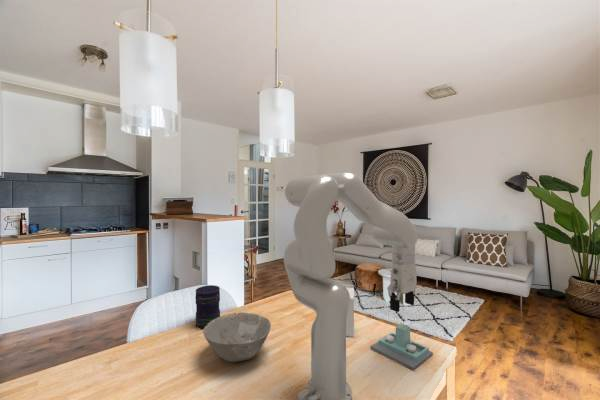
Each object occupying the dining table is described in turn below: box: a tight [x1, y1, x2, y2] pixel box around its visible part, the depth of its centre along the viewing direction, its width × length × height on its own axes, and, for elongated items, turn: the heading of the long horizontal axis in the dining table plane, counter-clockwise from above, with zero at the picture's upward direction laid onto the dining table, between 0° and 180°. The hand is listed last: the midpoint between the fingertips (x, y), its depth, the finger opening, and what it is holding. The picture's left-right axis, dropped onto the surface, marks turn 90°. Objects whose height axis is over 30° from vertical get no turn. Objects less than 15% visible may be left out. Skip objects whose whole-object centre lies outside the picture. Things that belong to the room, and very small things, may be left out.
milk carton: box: [342, 283, 355, 338], centre depth 110 cm, size 7×7×19 cm
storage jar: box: [194, 285, 221, 330], centre depth 117 cm, size 10×10×15 cm
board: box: [369, 334, 434, 372], centre depth 96 cm, size 13×16×4 cm
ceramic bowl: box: [202, 312, 272, 363], centre depth 94 cm, size 22×23×10 cm
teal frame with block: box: [378, 323, 430, 361], centre depth 97 cm, size 9×14×7 cm, turn 40°
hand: (402, 307), depth 96 cm, fingers open, 9 cm apart
